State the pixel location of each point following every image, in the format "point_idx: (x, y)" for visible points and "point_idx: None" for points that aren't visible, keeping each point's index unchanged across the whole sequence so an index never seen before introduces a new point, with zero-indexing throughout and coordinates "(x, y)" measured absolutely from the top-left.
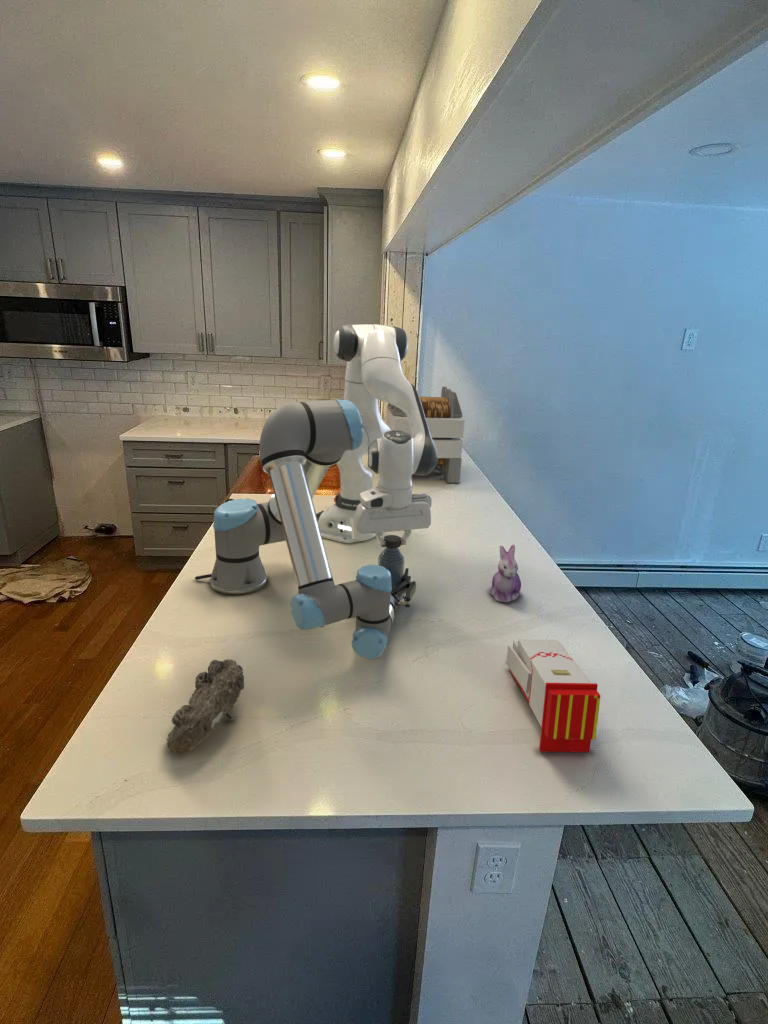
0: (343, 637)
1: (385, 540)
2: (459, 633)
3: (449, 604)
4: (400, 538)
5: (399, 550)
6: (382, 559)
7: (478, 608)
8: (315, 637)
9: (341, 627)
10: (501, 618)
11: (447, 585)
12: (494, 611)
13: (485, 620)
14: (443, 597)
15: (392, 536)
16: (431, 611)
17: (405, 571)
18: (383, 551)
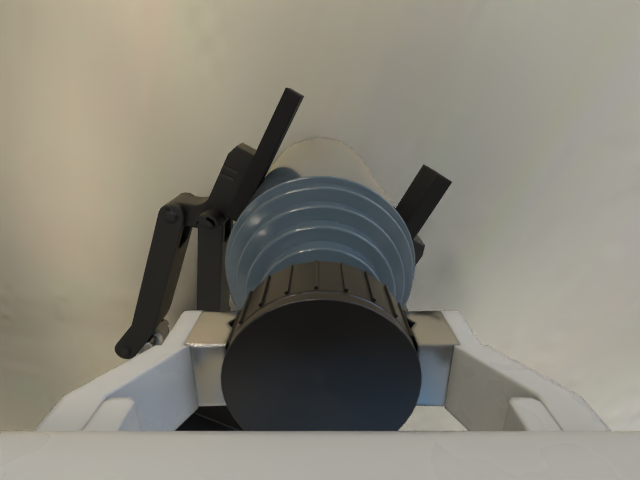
0: (113, 367)
1: (229, 401)
2: (447, 422)
3: (523, 278)
4: (406, 410)
5: (394, 284)
6: (240, 307)
7: (599, 325)
8: (28, 350)
9: (110, 321)
10: (619, 389)
11: (621, 133)
12: (633, 352)
13: (565, 387)
14: (535, 227)
15: (338, 349)
16: (434, 304)
17: (415, 216)
18: (254, 277)
